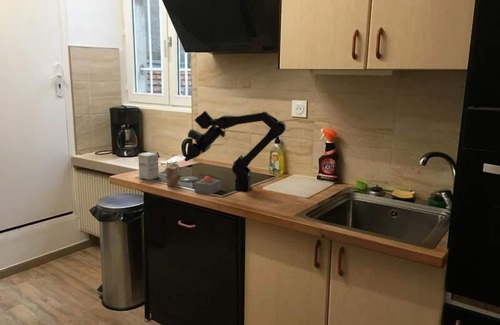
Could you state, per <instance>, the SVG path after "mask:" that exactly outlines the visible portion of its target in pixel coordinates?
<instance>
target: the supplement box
mask: <svg viewBox="0 0 500 325" xmlns="http://www.w3.org/2000/svg"><path fill="white" fill-rule="evenodd" d="M137 156H138V177H139V178H140V179H144V180H147V181H149V180H153V179H157V178H159V177H160V175H159V171H160V170H159V153H156V152H150V151H149V152H148V151H147V152H143V153H142V152H141V153H138V155H137Z"/></svg>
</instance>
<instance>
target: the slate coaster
mask: <svg viewBox="0 0 500 325" xmlns="http://www.w3.org/2000/svg"><path fill="white" fill-rule="evenodd" d="M199 179H200V178H199V177H197V176H192V175H191V176H181V177H180V178H179V177H178V182H182V183H193V182H194V183H195V182H197V181H199Z"/></svg>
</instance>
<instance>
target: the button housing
mask: <svg viewBox="0 0 500 325" xmlns="http://www.w3.org/2000/svg"><path fill="white" fill-rule="evenodd" d="M203 180H204V178H202V179H200V180H198V181H194V183H193V184H194V193H196V194H204V195H211V194H212V195H214V194H216V193H218V192H220V191H222V180H221V179H213V178H212V180H213V182H212V183H203Z"/></svg>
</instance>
